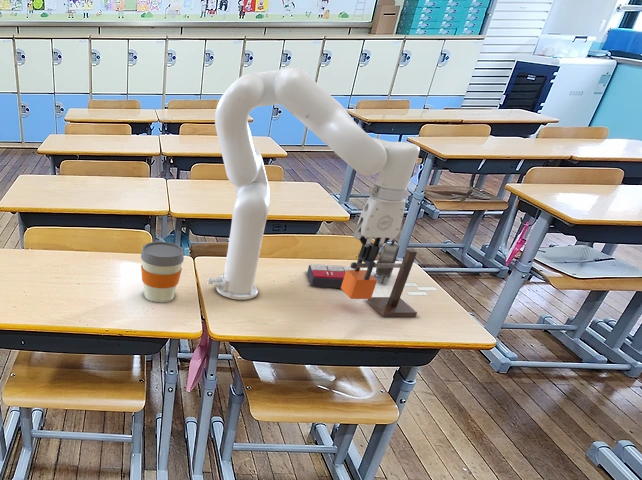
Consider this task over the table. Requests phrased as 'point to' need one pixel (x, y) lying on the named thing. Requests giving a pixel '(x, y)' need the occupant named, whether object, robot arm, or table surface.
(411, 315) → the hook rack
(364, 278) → the orange square box
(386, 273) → the alarm clock
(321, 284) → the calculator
